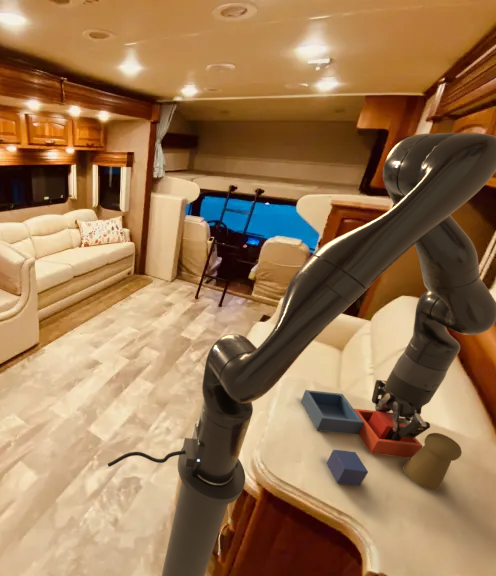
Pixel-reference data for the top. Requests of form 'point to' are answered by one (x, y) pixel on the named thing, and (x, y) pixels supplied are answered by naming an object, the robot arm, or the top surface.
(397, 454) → the red bin
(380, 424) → the red block
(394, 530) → the top surface
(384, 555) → the top surface
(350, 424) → the blue bin
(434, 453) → the cork
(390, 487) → the top surface
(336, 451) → the blue block
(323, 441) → the top surface
